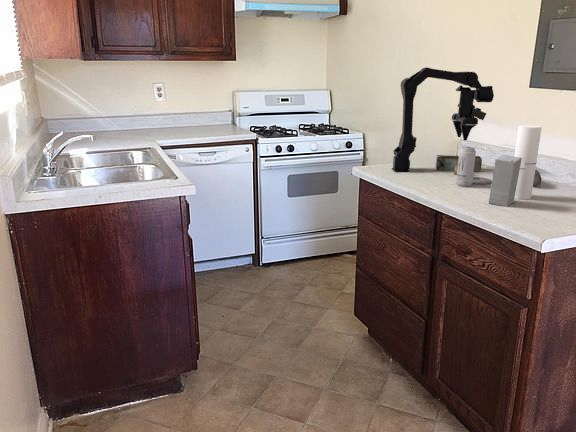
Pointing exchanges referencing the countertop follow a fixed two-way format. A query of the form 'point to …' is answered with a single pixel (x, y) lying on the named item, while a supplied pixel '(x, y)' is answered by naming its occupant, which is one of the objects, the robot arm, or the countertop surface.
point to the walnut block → (455, 170)
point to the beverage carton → (454, 163)
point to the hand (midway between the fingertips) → (462, 138)
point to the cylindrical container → (527, 159)
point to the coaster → (481, 181)
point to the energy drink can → (466, 166)
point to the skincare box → (504, 180)
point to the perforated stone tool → (537, 179)
